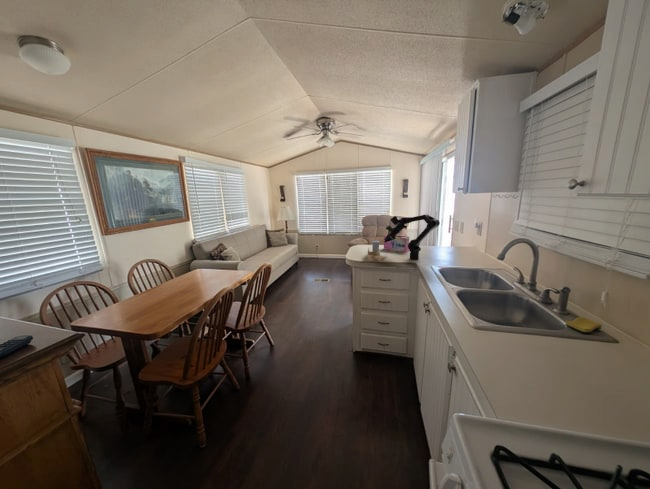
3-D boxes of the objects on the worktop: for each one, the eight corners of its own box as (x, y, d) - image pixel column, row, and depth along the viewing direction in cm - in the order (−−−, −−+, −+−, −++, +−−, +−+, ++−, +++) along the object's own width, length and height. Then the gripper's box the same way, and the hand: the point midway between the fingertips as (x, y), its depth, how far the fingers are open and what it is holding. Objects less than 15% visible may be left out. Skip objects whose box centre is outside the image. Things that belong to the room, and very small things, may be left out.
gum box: (382, 248, 241) (382, 235, 238) (386, 247, 246) (386, 234, 244) (405, 252, 225) (406, 238, 222) (409, 250, 231) (409, 236, 228)
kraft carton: (386, 257, 211) (386, 248, 209) (387, 261, 196) (387, 252, 195) (368, 256, 214) (368, 247, 212) (367, 261, 200) (367, 251, 198)
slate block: (378, 253, 222) (379, 241, 219) (378, 255, 217) (378, 242, 214) (372, 253, 223) (372, 240, 220) (372, 255, 218) (372, 242, 215)
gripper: (391, 221, 220) (378, 232, 224) (391, 223, 202) (377, 236, 207) (399, 229, 219) (386, 241, 224) (401, 233, 202) (387, 245, 207)
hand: (384, 241), depth 215 cm, fingers open, 9 cm apart
